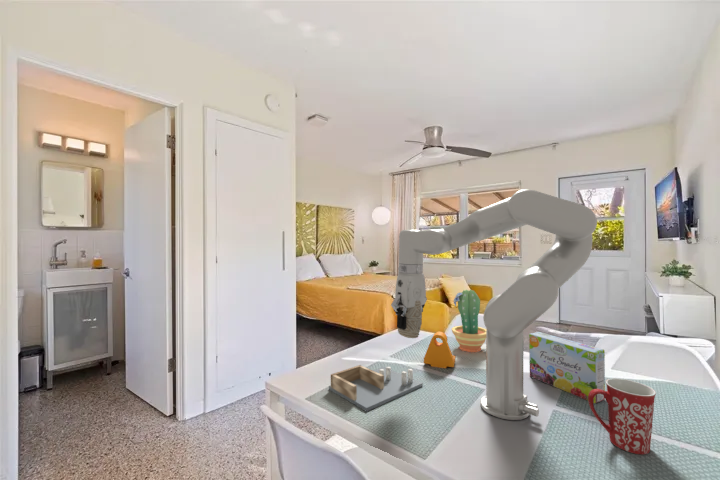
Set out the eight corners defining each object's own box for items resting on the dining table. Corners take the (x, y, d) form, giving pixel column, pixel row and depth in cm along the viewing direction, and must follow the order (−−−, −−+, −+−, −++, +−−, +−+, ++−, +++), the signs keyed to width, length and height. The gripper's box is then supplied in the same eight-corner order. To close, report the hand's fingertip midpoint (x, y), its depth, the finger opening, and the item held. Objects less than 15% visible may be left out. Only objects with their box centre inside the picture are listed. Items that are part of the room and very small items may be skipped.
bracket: (455, 362, 128) (455, 331, 128) (453, 369, 122) (453, 336, 122) (427, 358, 132) (427, 328, 132) (423, 365, 126) (423, 333, 126)
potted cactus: (464, 340, 155) (464, 286, 155) (496, 349, 143) (496, 290, 143) (444, 348, 145) (443, 290, 145) (476, 357, 133) (476, 294, 133)
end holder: (383, 388, 104) (383, 375, 104) (353, 400, 97) (353, 386, 97) (359, 376, 113) (359, 364, 113) (330, 387, 105) (330, 374, 105)
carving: (423, 339, 102) (424, 300, 102) (398, 339, 102) (399, 300, 102) (419, 333, 108) (420, 296, 108) (395, 333, 108) (396, 296, 108)
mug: (645, 437, 80) (645, 381, 80) (664, 461, 71) (664, 398, 71) (583, 427, 84) (582, 373, 84) (594, 449, 76) (594, 389, 76)
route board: (422, 386, 108) (422, 370, 108) (366, 411, 93) (366, 393, 92) (383, 369, 122) (383, 355, 122) (328, 389, 106) (328, 373, 106)
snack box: (528, 377, 115) (528, 333, 115) (538, 374, 117) (538, 330, 117) (595, 404, 96) (595, 351, 96) (606, 400, 98) (606, 348, 98)
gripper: (401, 272, 96) (400, 334, 96) (437, 268, 108) (435, 324, 108) (382, 270, 102) (381, 328, 102) (418, 266, 113) (417, 319, 114)
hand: (409, 325), depth 105 cm, fingers closed on carving, 6 cm apart
